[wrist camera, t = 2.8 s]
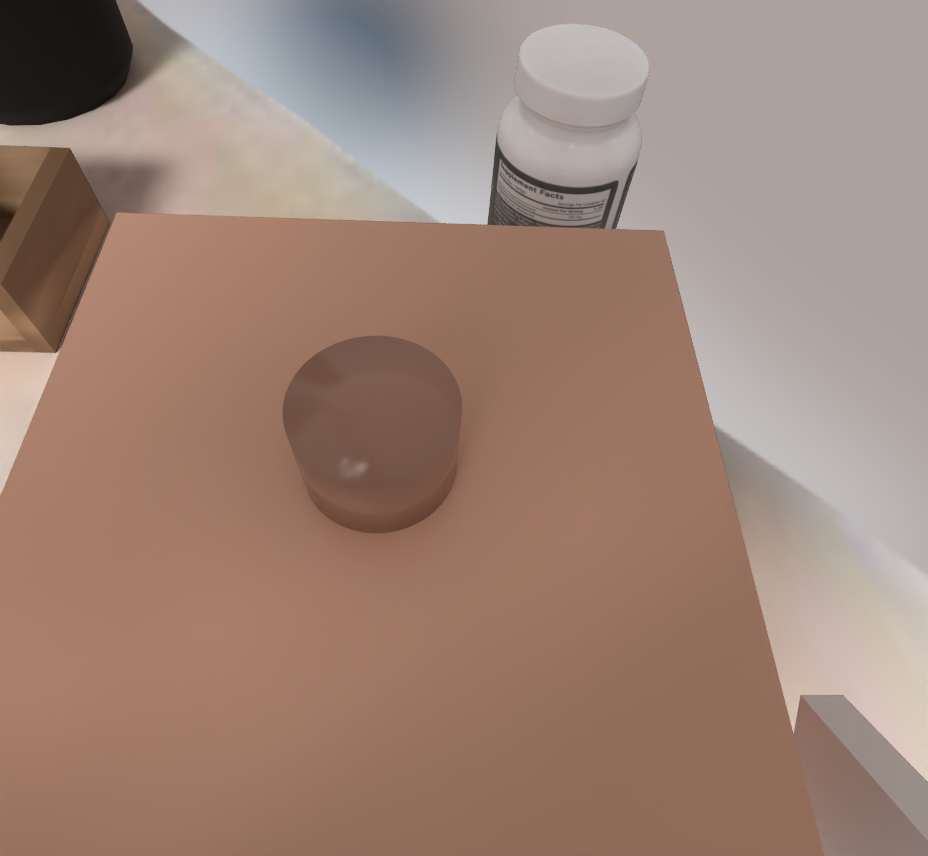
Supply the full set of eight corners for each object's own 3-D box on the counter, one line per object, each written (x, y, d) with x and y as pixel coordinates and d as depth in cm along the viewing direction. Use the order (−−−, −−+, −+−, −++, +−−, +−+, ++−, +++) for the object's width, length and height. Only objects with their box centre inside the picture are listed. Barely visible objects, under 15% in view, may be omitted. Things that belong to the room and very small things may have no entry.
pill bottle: (530, 209, 33) (567, -1, 24) (622, 263, 31) (696, 56, 23) (459, 267, 30) (472, 55, 22) (554, 329, 29) (609, 125, 20)
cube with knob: (200, 850, 18) (-320, 932, 5) (261, 496, 24) (78, 138, 11) (586, 844, 18) (926, 903, 6) (554, 499, 24) (691, 162, 12)
